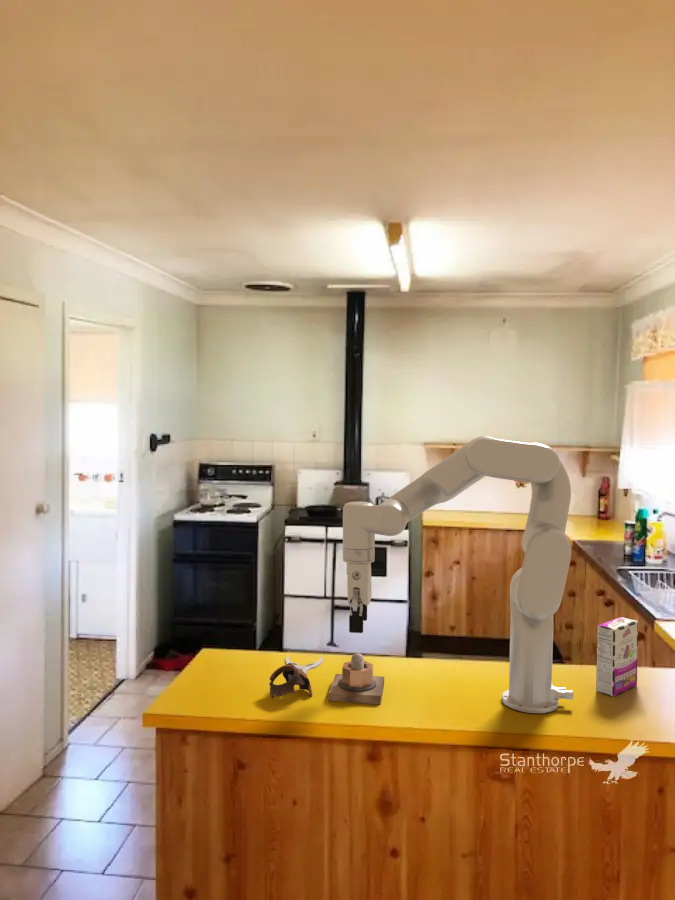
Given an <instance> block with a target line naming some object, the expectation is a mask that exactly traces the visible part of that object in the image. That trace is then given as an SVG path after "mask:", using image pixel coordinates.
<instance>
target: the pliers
mask: <svg viewBox="0 0 675 900" xmlns="http://www.w3.org/2000/svg"><path fill="white" fill-rule="evenodd" d="M288 663H292V664H293V665H294V664H295V665H294V666H295V667H296V668H297V669H300V670H302V671H303V672H304V673H305V674H306V675H307V676H308V671H310V670H313V669H316V668H317V667H319V666H321V665H322V664H323V656H320V657H319V659H318V660H317V661H316V662H311V663H307V664H305V665H304V666H303V665H301V664H299V663H297V662H293V661H291V659H290V655H287V657H286V658H285V665H286V664H288Z"/></svg>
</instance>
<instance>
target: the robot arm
mask: <svg viewBox="0 0 675 900" xmlns="http://www.w3.org/2000/svg"><path fill="white" fill-rule="evenodd" d="M485 477H490V478H495V479H501V480H507V481H508V480H509V481H516V482H517V481H518V482H523V483H530V485H531V486H530V487H531V499H530V503H529V510H528V511H529V512H528V514H527V518H526V519H527V520H526V522H525V523H526V524H525V526H524V527H525V528H524V531H523V535H522V538H521V546H522V550H523V552H524V557H523V562H522V567H520V568H519V569H517V571H516V572H515V573H513V575H512V577H511V579H510V584H509V601H510V602H509V605H510V606H509V608H510V609H509V610H510V622H509V624H510V626H509V628H510V630H509V633H510V634H509V671H508V673H509V674H508V677H509V678H508V689H507V690H505V691H503V692H502V694H501V701H502V703H503V704H504V705H505V706H507V707H508V708H510V709H512V710H516V711H519V712H522V713H526V714H547V712H548V713H551V712H554V711H556V710H557V709H559V708H558V707H559V700H560V699H562V700H563V699H564V700H570V701H572V700H574V692H573V690H567V689H566V687H564V686H563V687H562V686H561V687H557V686H555V685H553V653H554V652H553V651H554V650H553V648H554V647H553V646H554V614H556V613H557V611H558V610H559V608H560V606H561V602H562V600H563V596H564V591H565V586H566V582H567V578H568V575H569V574H568V573H569V568H570V564H571V559H572V558H571V557H572V545H571V542H570V539H569V538H568V536H567V535H566V528H567V522H568V518H569V512H570V505H571V497H572V488H571V481H570V478H569V474H568V471H567V470H566V468H565V466H564V464H563V462H562V461H561V460H560V457H559V455H558V453H557V452H556V451H555V450H554V448H552V447H551V446H548V445H546V444H544V443H541V442H537V441H534V442H521V441H515V440H513V441H512V440H506V439H499V438H495V437H492V436H488V435H479V436H477V437H475V438H473V439H472V440H470V441H469V442H467V443H466V444H465V445H462V446H461V447H460V448H459V449H457V450H456V451H454V452H453V453H452V454H450V455H448V456H447V457H445V458H444V459H443V460H441V461H440V462H438V463H437V464H435V465H434V466H433V467H431V468H430V469H428V470H427V471H425V472H424V473H423V474H421V475H420V476H418V478H416V479H415V480H413V481H412V482H411V483H409V484H407V485H406V486H405V487H403V488H401V489H400V490H399V491H397V492H395V493H393V495H391V496H390V497H389V498H387V499H385V500H384V501H383V502H382V503H381V504H377V505H376V504H373V503H371V502H369V501H349V502H346V503H344V506H343V508H342V562H344V563H347V574H346V575H347V577H346V580H347V581H346V582H347V584H346V585H347V590H346V591H347V604H348V605H349V615H348V616H349V617H348V618H349V619H348V632H349V633H353V634H363V632H364V622H366V621H367V620H368V606H369V605H370V602H371V600H372V596H373V595H372V563H374V562H375V556H376V555H375V553H376V551H375V547H376V545H375V544H376V543H375V541H376V540H375V539H376V535H379V536H386V537H395V536H398V535H400V534H402V533H403V531H405V529H406V527H407V523H409V522H410V521H412V520H413V519H415V518H416V517H417V516H419V515H421V514H422V513H424V512H425V511H427V510H428V509H430V508H432V507H434V506H436V505H438V504H442V503H446V502H448V501H450V500H453V499H454V498H455V497H458V495H460V494H461V493H462V492H464V491H466V490H467V489H469V488H470V487H471V486H473V485H475V484H477V482H479V481H480V480H482V479H484V478H485Z"/></svg>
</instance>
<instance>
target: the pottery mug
mask: <svg viewBox="0 0 675 900" xmlns="http://www.w3.org/2000/svg"><path fill="white" fill-rule="evenodd" d="M280 675H282V677H283V678H284V680H285V682H284V683H282V684H276V683H275V684H274V681H275V680H276V679H277V677H279V676H280ZM295 686H298V687H299V690H300V689H302V690H305V691H308V693H309V696H310V698H312V697H313V691H312V685H311V681H310V680H309V678H308V674H307V675H306V674H305V673H304V672H303V671H302V670H300V669H297V668H296V667H295V666H294V665H293V664H292V663H288V664H286V663H285V665H282V666H280V667H278V668H276V670H274V671H273V672H272V673H271V675H270V677H269V694H270V696H271V698H274V697H281V696H286V695H288V694H293V695H294V694H296V692H295V691H296V690H295ZM302 690H301V691H302Z"/></svg>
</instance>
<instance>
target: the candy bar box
mask: <svg viewBox="0 0 675 900" xmlns="http://www.w3.org/2000/svg"><path fill="white" fill-rule="evenodd" d="M638 629H639V621H638V620H636V619H632V618H628V617H627V618H626V617H624V616H623V617H622V616H619V617H616V618H614V619H611V620H608V621H606V622H603V623H600V624H598V625H596V680H595V681H596V683H595V684H596V686H595V687H596V689H595V691H596V692H598V693H600V694H604V695H606V696H610V697H612V698H615V697H616V696H619V695H621V694H623V693H625V692H627V691H629V690H631V689H633V688H635V687H637V686H638V645H639V644H638V643H639V642H638V641H639V640H638V639H639V637H638V636H639V633H638V632H639V630H638Z"/></svg>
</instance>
